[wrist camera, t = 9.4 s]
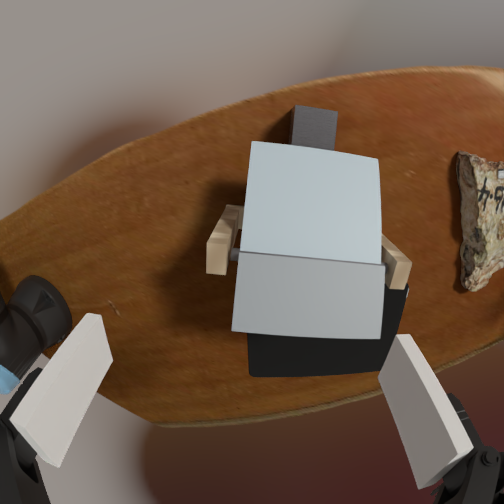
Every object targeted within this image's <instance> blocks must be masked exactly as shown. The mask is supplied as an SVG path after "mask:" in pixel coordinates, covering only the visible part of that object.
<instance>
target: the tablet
mask: <svg viewBox="0 0 504 504" xmlns="http://www.w3.org/2000/svg"><path fill="white" fill-rule="evenodd" d="M408 291H409V286H408V284H407V283H406V285H405V288H404V290H402V289H389V287H388V286H387V285H386V283H385V284H384V301H383V314H382V326H381V335H380V339H345V338H317V337H298V336H283V335H270V334H258V333H247V334H248V357H249V374H250V375H251V376H253V377H307V376H327V375H341V374H353V373H364V372H373V371H381V369H382V367H383V365H384V362H385V360H386V358H387V355H388V353H389V351H390V348H391V346H392V343H393V341H394V338H395V336H396V334H397V330H398V327H399V323H400V320H401V316H402V312H403V309H404V305H405V301H406V298H407V295H408Z"/></svg>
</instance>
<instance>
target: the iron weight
mask: <svg viewBox="0 0 504 504" xmlns="http://www.w3.org/2000/svg"><path fill="white" fill-rule="evenodd" d="M337 116H338V112H337V111H331V110H326V109H319V108H313V107H306V106H299V105H295V106H294V107H293V108H292V110H291V120H290V130H289V140H288V145H295V146H303V147H310V148H317V149H324V150H330V151H334V144H335V135H336V126H337Z"/></svg>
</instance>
